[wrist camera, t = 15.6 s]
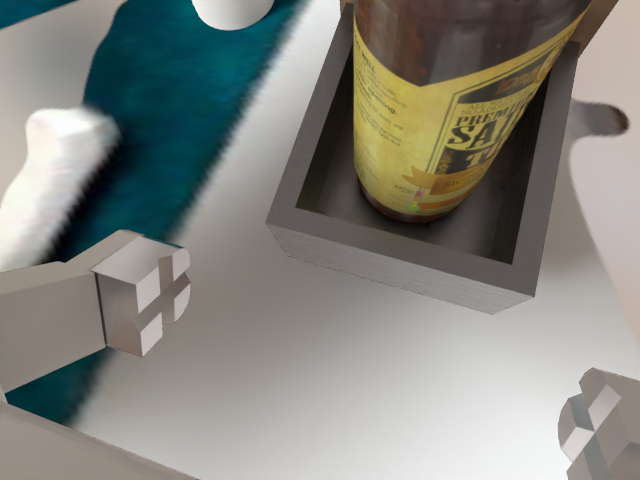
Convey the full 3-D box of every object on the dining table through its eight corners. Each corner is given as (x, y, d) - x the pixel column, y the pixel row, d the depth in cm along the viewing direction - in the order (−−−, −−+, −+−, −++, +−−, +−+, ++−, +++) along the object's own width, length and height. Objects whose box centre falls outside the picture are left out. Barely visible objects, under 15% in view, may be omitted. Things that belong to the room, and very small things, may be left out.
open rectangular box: (287, 255, 23) (265, 222, 18) (351, 69, 26) (349, -6, 21) (492, 314, 21) (534, 297, 16) (535, 105, 24) (582, 33, 19)
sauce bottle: (430, 252, 21) (1082, -863, 2) (331, 185, 22) (158, -791, 4) (501, 155, 22) (1350, -1150, 3) (401, 97, 24) (559, -998, 5)
